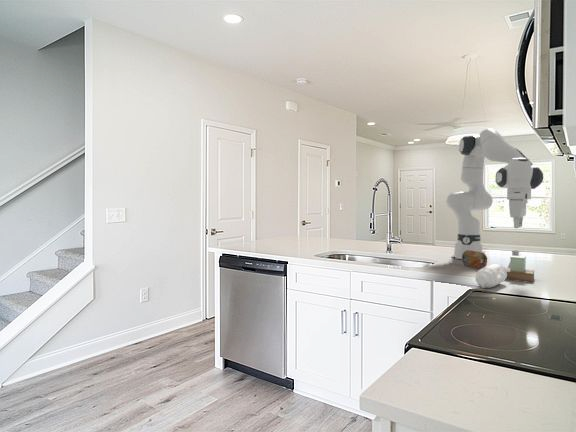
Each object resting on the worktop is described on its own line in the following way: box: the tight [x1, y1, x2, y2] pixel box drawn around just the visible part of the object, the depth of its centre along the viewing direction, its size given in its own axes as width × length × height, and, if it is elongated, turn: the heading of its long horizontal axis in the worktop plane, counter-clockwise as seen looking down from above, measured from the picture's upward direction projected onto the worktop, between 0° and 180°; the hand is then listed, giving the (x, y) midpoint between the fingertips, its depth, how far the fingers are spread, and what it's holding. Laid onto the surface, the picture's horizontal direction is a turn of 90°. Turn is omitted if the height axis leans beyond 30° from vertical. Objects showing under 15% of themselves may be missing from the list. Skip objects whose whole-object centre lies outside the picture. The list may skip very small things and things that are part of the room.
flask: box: [507, 249, 520, 268], centre depth 180 cm, size 7×7×10 cm
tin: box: [461, 250, 488, 270], centre depth 192 cm, size 15×3×8 cm, turn 14°
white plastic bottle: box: [475, 263, 507, 289], centre depth 149 cm, size 8×19×8 cm, turn 135°
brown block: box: [504, 267, 535, 283], centre depth 164 cm, size 10×12×4 cm
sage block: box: [509, 255, 527, 272], centre depth 164 cm, size 5×5×6 cm
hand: (518, 227), depth 163 cm, fingers open, 8 cm apart
